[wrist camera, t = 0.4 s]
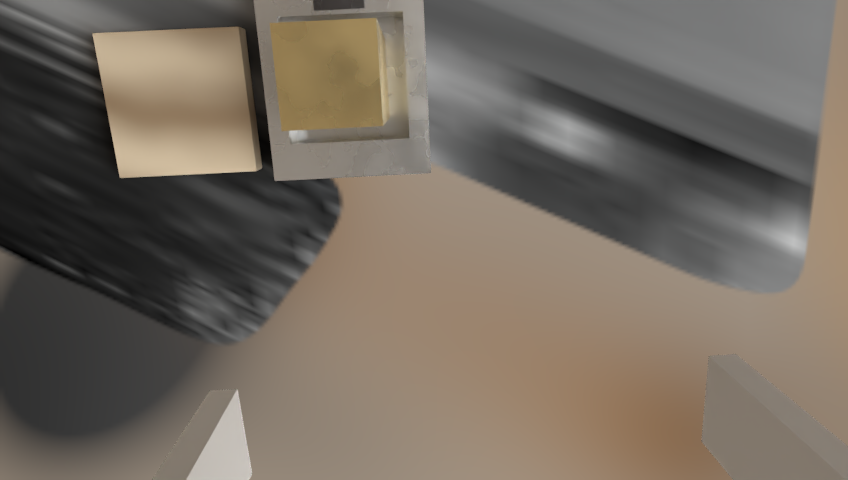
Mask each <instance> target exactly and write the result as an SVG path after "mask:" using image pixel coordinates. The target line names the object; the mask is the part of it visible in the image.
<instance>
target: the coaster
mask: <svg viewBox="0 0 848 480" xmlns="http://www.w3.org/2000/svg"><path fill="white" fill-rule="evenodd" d="M92 34H93V39H94V44H95V50H96V55H97V60H98V65H99V71H100V76H101V81H102V87H103V92H104V97H105V102H106V108H107V113H108V118H109V123H110V129H111V134H112V139H113V144H114V150H115V155H116V160H117V165H118V171H119V176H120V178H130V177H150V176H169V175H189V174H209V173H229V172H249V171H258V170H260V169H262V162H261V154H260V146H259V137H258V129H257V121H256V113H255V105H254V97H253V88H252V80H251V72H250V64H249V56H248V48H247V39H246V31H245V29H243V28H241V27H218V28H197V29H175V30H154V31H133V32H111V33H92Z"/></svg>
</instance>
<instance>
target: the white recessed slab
mask: <svg viewBox="0 0 848 480" xmlns="http://www.w3.org/2000/svg"><path fill="white" fill-rule="evenodd" d="M254 9H255V17H256V26H257V34H258V43H259V51H260V60H261V68H262V77H263V85H264V94H265V102H266V111H267V119H268V128H269V136H270V145H271V153H272V162H273V170H274V179H275V181H283V180H303V179H322V178H342V177H362V176H381V175H400V174H421V173H431V164H430V141H429V118H428V96H427V73H426V50H425V27H424V5H423V0H254ZM363 18H376V19H377V21H378V23H379V26H380V28H381V30H382V33H383V35H384V37H385V47H386V63H387V80H388V96H389V112H390V118H389V119H388V120H387V122H386V123H385V124H384V126H376V127H356V128H335V129H315V130H295V131H282V130H281V121H280V112H279V103H278V95H277V86H276V77H275V68H274V59H273V50H272V41H271V32H270V23H278V22H299V21H320V20H342V19H363Z"/></svg>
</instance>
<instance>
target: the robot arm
mask: <svg viewBox="0 0 848 480" xmlns="http://www.w3.org/2000/svg"><path fill="white" fill-rule="evenodd" d="M702 442H703V444H704V445H705V446H706V447H707V449H708V450H709V451H710V452H711V454H712V455H713V456H714V457H715V458H716V459H717V461H718V462H719V463H720V464H721V466H722V467H723V468H724V469H725V470H726V471H727V473H728V474H729V475H730V476H731V478H732V479H733V480H848V446H847V445H846V444H845V443H843V442H842V441H841V440H840V439H839V438H837V437H836V436H835V435H834V434H833V433H831V432H830V431H829V430H828V429H826V428H825V427H824V426H823V425H821V424H820V423H819V422H818V421H817V420H815V419H814V418H813V417H812V416H811V415H809V414H808V413H807V412H806V411H805V410H803V409H802V408H801V407H800V406H798V405H797V404H796V403H795V402H794V401H792V400H791V399H790V398H789V397H788V396H786V395H785V394H784V393H783V392H781V391H780V390H779V389H778V388H777V387H775V386H774V385H773V384H772V383H770V382H769V381H768V380H767V379H766V378H764V377H763V376H762V375H761V374H760V373H758V372H757V371H756V370H755V369H753V368H752V367H751V366H750V365H749V364H747V363H746V362H745V361H744V360H743V359H741V358H740V357H739V356H738V355H736V354H732V355H717V356H709V360H708V371H707V383H706V395H705V406H704V419H703V430H702ZM251 475H252V470H251V465H250V458H249V452H248V447H247V442H246V435H245V429H244V424H243V418H242V412H241V407H240V401H239V395H238V389H229V390H215V391H209V393H208V394H207V396H206V397H205V399H204V400H203V402H202V404H201V405H200V407H199V408H198V410H197V411H196V413H195V414H194V416H193V417H192V419H191V421H190V422H189V424H188V425H187V427H186V428H185V430H184V431H183V433H182V434H181V436H180V437H179V439H178V440H177V442H176V443H175V445H174V447H173V448H172V450H171V451H170V453H169V454H168V456H167V457H166V459H165V460H164V462H163V464H162V465H161V466H160V468H159V470H158V471H157V473H156V474H155V476H154V477H153V479H152V480H250V477H251Z"/></svg>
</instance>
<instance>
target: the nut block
mask: <svg viewBox="0 0 848 480" xmlns="http://www.w3.org/2000/svg"><path fill="white" fill-rule="evenodd" d="M270 32H271V41H272V50H273V59H274V68H275V77H276V86H277V95H278V103H279V112H280V121H281V130H282V131H295V130H315V129H335V128H356V127H376V126H384V124H385V123H386V122H387V120H388V119H389V118H390V112H389V96H388V80H387V63H386V47H385V37H384V35H383V33H382V30H381V28H380V26H379V23H378V21H377V19H376V18H363V19H342V20H320V21H299V22H278V23H270Z"/></svg>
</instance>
